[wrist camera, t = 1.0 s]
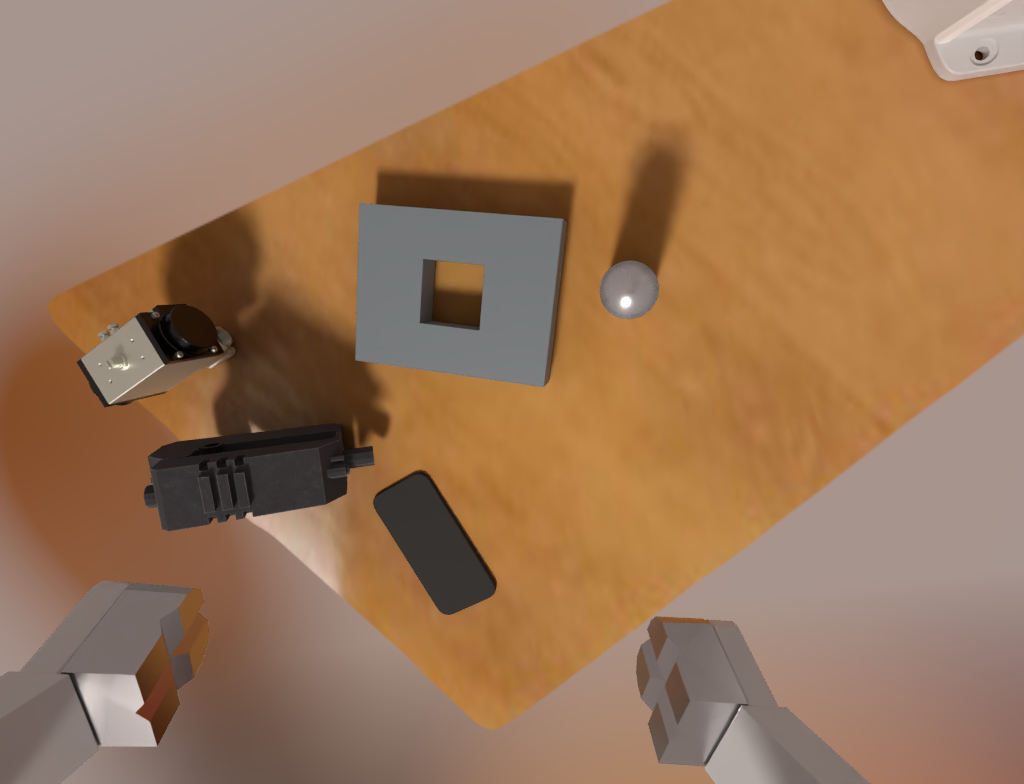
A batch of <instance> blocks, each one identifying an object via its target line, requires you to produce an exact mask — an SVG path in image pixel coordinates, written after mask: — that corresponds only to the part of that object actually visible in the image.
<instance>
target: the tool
mask: <svg viewBox="0 0 1024 784" xmlns="http://www.w3.org/2000/svg"><path fill="white" fill-rule="evenodd" d="M148 460H149V465H150V472H151V483H153V485H149V486H147V487H146V488H145V491H144V501H145V505H146V506H147V507H149V508H153V507H158V511H159V516H160V521H161V526H162V529H163V530H166V531H173V530H178V529H185V528H191V527H197V526H203V525H209V524H210V523H211V521H212V520H213V518H217V520H218V523H220V522H226V521H227V520H228V518H229V516H231V515H236V520H238V519H244V517H245V516H246V514H247V513H249V512H252V513H253V517H256V516H261V515H267V514H273V513H279V512H285V511H290V510H296V509H302V508H308V507H314V506H319V505H325V504H328V503H330V502H332V501H333V500H335V499H337V498H339V497H341V496H343V495H345V494H347V474H349V473H350V468H356V467H363V466H370V465H375V464H374V455H373V447H372V446H369V447H362V448H354V449H347V450H344V447H343V439H342V431H341V425H340V424H326V425H318V426H309V427H300V428H291V429H283V430H274V431H265V432H257V433H248V434H239V435H230V436H222V437H213V438H204V439H196V440H187V441H178V442H174V443H171V444H168V445H164V446H162V447H161V448H160V449H158V450H156V451H155V452H153V453H152V454H151V455H149V456H148Z"/></svg>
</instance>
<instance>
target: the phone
mask: <svg viewBox="0 0 1024 784" xmlns="http://www.w3.org/2000/svg"><path fill="white" fill-rule="evenodd" d="M373 504H374V508H375V510H376V511H377V513H378V515H379V516H380V518H381V519H382V521H383V523H384V524H385V526H386V527H387V529H388V531H389V532H390V534H391V535H392V537H393V538H394V540H395V542H396V543H397V545H398V546H399V548H400V550H401V551H402V553H403V554H404V556H405V558H406V559H407V561H408V562H409V564H410V565H411V567H412V569H413V570H414V572H415V573H416V575H417V577H418V578H419V580H420V581H421V583H422V584H423V586H424V588H425V589H426V591H427V592H428V594H429V596H430V597H431V599H432V600H433V602H434V604H435V605H436V607H437V608H438V609H439V611H440V612H442V613H443V614H446V615H451V614H454V613H456V612H458V611H461V610H463V609H465V608H467V607H469V606H472V605H474V604H476V603H478V602H481V601H483V600H485V599H487V598H489V597H491V596H492V595H493V594H494V592H495V590H496V583H495V581H494V579H493V577H492V576H491V574H490V573H489V571H488V569H487V568H486V566H485V565H484V563H483V561H482V559H481V558H480V556H479V554H477V552H476V550H475V548H474V546H473V545H472V543H471V542H470V541H469V539H468V538H467V536H466V535H465V533H464V531H463V530H462V528H461V527H460V525H459V523H458V522H457V520H456V519H455V517H454V516H453V514H452V512H451V511H450V509H449V508H448V506H447V504H446V503H445V501H444V500H443V498H442V496H441V495H440V493H439V492H438V490H437V489H436V487H435V485H434V484H433V482H432V481H431V479H430V478H429V477H428V476H427V475H426V474H424V473H415V474H413V475H412V476H410V477H408V478H406V479H404V480H403V481H401V482H399V483H397V484H396V485H394V486H392V487H390V488H389V489H387V490H385V491H383V492H382V493H380V494H378V495H377V496H376V497H375V499H374V501H373Z"/></svg>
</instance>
